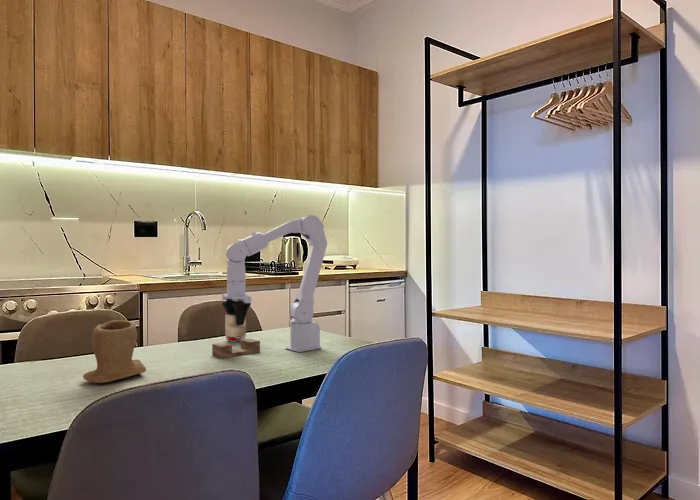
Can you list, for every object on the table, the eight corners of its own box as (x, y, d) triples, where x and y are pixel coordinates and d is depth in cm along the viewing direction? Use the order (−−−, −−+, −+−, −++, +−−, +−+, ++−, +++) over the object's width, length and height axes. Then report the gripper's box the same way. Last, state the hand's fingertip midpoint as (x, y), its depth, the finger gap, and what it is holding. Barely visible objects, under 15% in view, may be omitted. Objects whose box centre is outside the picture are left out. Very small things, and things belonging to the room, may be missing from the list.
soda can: (249, 340, 183) (249, 307, 183) (235, 343, 177) (235, 309, 177) (235, 338, 187) (235, 306, 187) (221, 341, 181) (221, 308, 181)
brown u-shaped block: (249, 349, 167) (249, 338, 167) (259, 351, 163) (259, 340, 163) (212, 355, 158) (212, 344, 158) (222, 358, 154) (221, 346, 154)
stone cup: (103, 389, 121) (102, 326, 120) (76, 382, 127) (76, 322, 127) (158, 376, 133) (158, 319, 133) (132, 369, 140) (131, 315, 140)
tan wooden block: (239, 333, 164) (239, 311, 163) (245, 334, 161) (245, 312, 161) (225, 335, 160) (225, 313, 160) (231, 337, 157) (231, 314, 157)
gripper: (213, 280, 163) (213, 322, 163) (237, 283, 152) (237, 328, 153) (232, 279, 168) (233, 320, 168) (257, 281, 157) (257, 325, 157)
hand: (236, 324), depth 161 cm, fingers closed on tan wooden block, 4 cm apart
